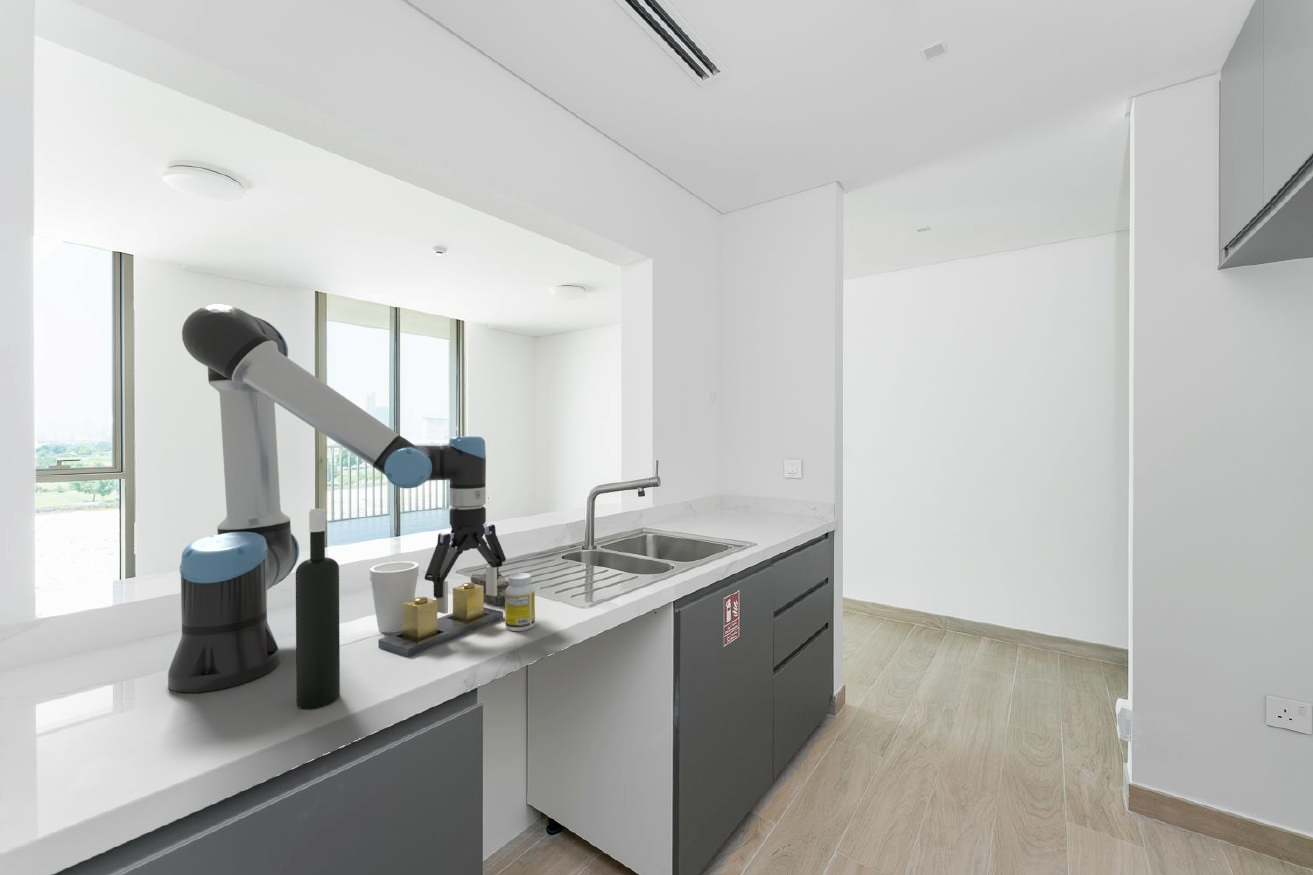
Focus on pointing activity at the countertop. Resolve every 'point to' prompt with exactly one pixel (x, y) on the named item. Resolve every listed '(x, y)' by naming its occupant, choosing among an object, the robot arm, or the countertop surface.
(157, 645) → the countertop surface
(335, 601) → the wine bottle
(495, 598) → the stone
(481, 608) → the brass knobbed block
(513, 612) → the pill bottle
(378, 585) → the foam cup
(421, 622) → the brass block with knob
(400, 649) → the dark grey slotted tray
